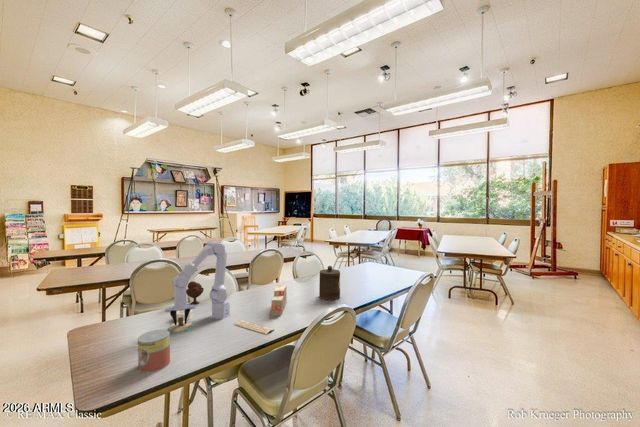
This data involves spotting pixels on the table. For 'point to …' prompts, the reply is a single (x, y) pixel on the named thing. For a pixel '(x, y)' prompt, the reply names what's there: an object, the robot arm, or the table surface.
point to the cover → (180, 325)
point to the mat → (182, 331)
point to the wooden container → (329, 284)
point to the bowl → (182, 314)
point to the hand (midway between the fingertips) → (180, 323)
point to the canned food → (153, 351)
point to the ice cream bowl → (194, 291)
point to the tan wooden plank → (253, 327)
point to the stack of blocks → (279, 300)
